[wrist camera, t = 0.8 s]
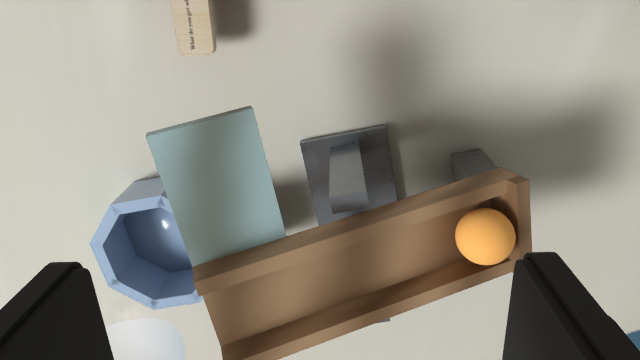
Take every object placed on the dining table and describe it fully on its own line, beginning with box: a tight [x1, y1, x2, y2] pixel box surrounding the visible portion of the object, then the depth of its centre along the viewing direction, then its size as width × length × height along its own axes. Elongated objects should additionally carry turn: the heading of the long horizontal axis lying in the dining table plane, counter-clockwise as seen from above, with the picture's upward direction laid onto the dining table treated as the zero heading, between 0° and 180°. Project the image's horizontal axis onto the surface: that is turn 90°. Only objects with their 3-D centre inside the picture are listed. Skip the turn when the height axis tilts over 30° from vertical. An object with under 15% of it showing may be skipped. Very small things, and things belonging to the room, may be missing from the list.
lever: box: [146, 106, 532, 360], centre depth 25 cm, size 18×13×3 cm
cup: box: [90, 177, 203, 310], centre depth 34 cm, size 9×9×4 cm
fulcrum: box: [300, 125, 497, 323], centre depth 31 cm, size 19×10×9 cm, turn 102°
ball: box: [455, 208, 516, 265], centre depth 27 cm, size 3×3×3 cm
